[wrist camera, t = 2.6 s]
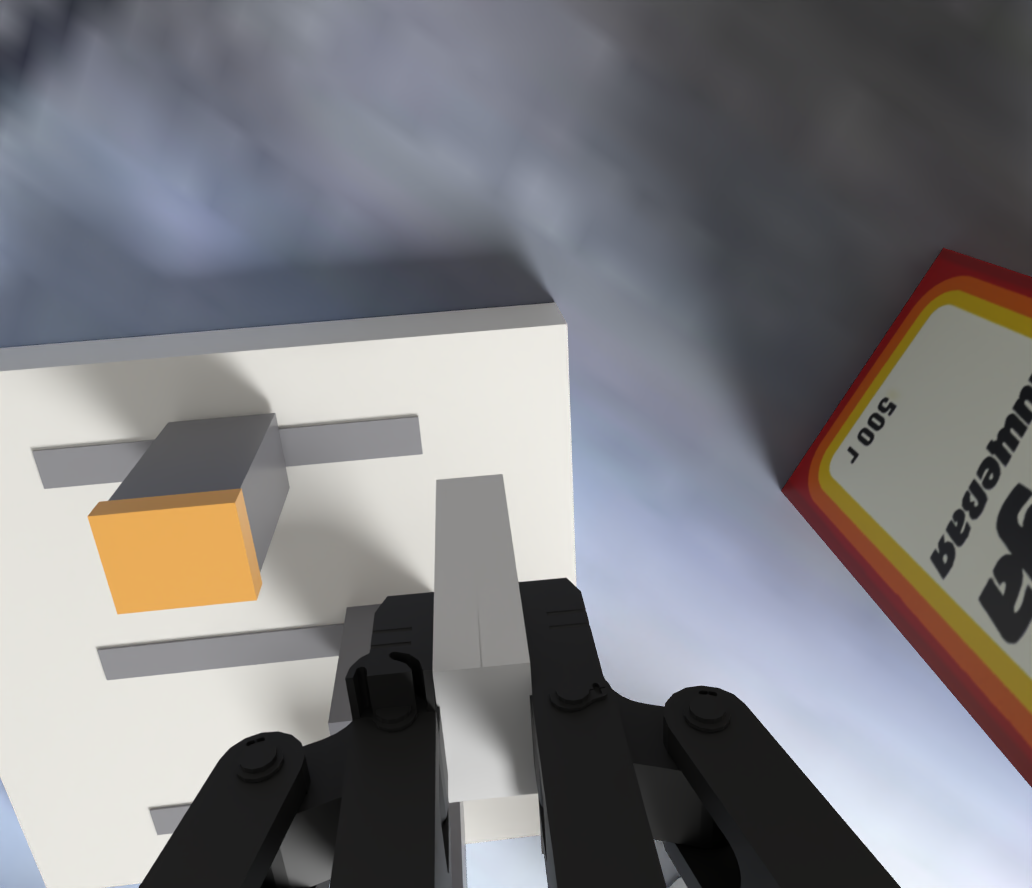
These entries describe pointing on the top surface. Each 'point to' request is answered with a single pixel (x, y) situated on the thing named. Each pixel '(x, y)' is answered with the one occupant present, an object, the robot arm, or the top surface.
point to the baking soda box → (943, 487)
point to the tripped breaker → (194, 515)
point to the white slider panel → (288, 564)
